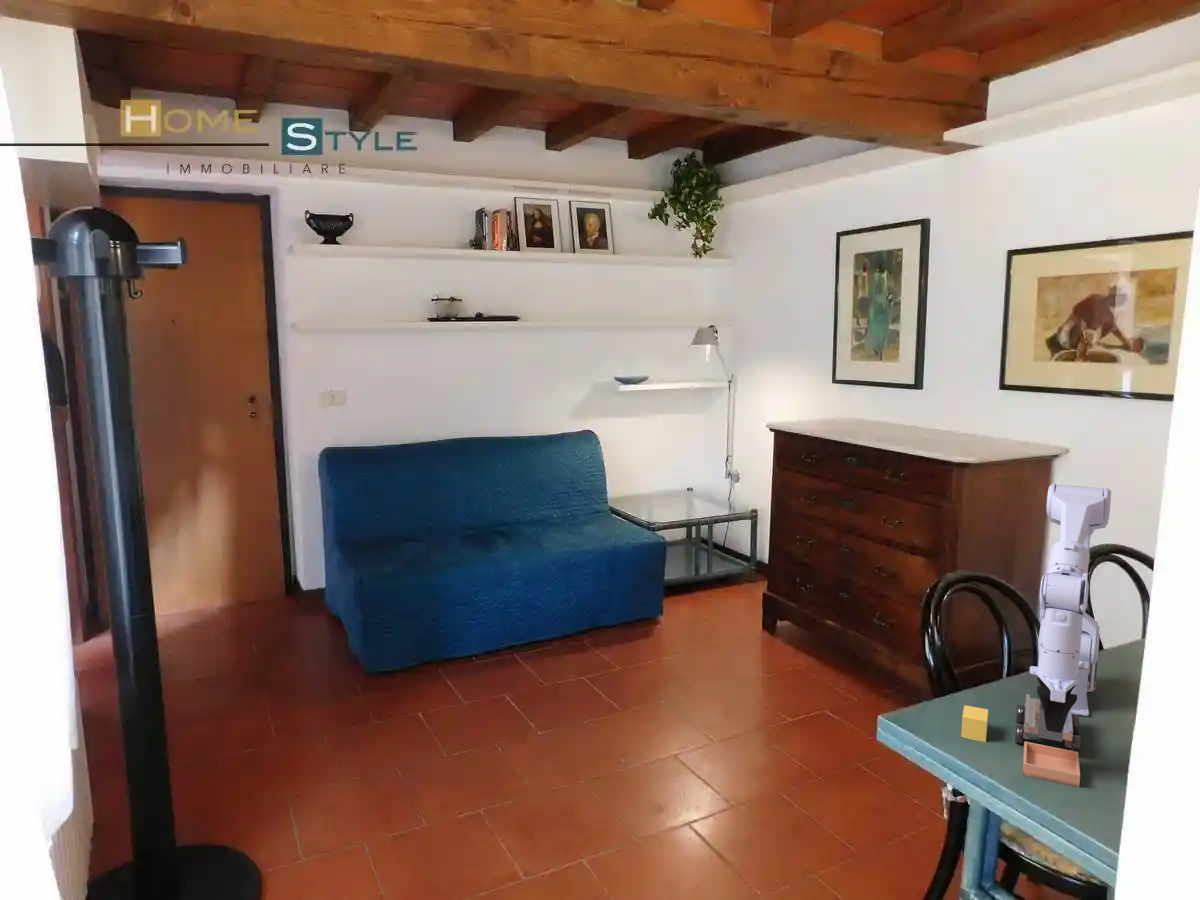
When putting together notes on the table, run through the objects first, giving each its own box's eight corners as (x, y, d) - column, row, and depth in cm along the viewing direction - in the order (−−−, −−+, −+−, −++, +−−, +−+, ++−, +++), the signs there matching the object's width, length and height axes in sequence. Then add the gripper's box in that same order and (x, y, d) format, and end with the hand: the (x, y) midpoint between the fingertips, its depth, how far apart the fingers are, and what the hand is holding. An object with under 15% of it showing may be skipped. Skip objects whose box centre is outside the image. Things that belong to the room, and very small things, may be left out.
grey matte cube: (1037, 727, 136) (1040, 699, 136) (1061, 732, 135) (1064, 704, 134) (1037, 737, 133) (1039, 708, 133) (1062, 741, 132) (1064, 713, 131)
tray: (1023, 752, 140) (1024, 741, 140) (1077, 763, 137) (1078, 752, 136) (1022, 774, 133) (1023, 763, 133) (1079, 787, 130) (1080, 775, 129)
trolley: (1016, 716, 153) (1018, 687, 152) (1076, 728, 148) (1079, 698, 147) (1014, 746, 142) (1016, 715, 141) (1079, 759, 138) (1082, 727, 137)
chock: (963, 725, 150) (964, 705, 149) (986, 730, 148) (988, 709, 148) (961, 737, 146) (962, 716, 145) (985, 742, 144) (987, 721, 143)
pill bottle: (1076, 679, 168) (1080, 634, 166) (1101, 689, 163) (1105, 643, 162) (1058, 684, 166) (1061, 638, 164) (1082, 694, 161) (1086, 648, 159)
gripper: (1032, 627, 140) (1026, 701, 142) (1031, 658, 127) (1025, 739, 129) (1079, 634, 136) (1073, 710, 139) (1083, 667, 124) (1076, 750, 126)
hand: (1053, 725), depth 134 cm, fingers closed on grey matte cube, 3 cm apart
